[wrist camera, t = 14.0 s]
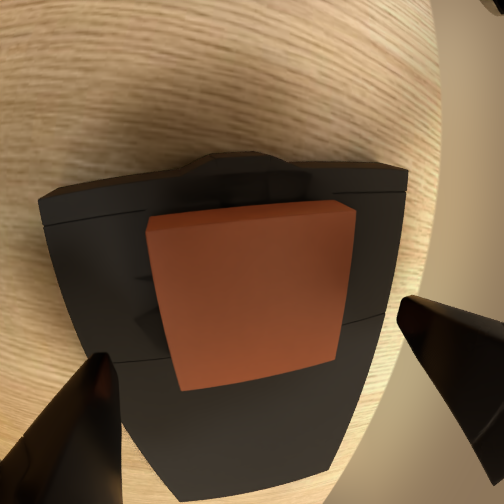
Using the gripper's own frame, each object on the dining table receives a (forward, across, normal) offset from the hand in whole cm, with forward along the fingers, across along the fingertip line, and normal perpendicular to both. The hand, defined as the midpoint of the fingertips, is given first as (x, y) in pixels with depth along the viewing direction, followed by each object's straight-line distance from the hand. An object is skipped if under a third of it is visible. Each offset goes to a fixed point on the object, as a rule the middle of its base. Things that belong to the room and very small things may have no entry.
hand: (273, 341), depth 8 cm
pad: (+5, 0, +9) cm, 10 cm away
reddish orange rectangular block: (+5, 0, 0) cm, 5 cm away
